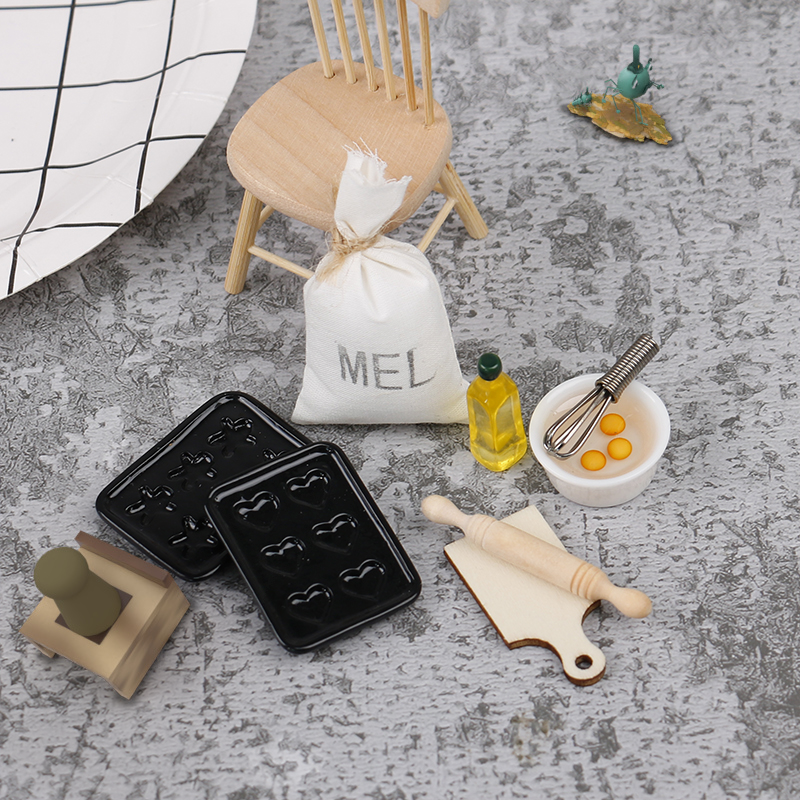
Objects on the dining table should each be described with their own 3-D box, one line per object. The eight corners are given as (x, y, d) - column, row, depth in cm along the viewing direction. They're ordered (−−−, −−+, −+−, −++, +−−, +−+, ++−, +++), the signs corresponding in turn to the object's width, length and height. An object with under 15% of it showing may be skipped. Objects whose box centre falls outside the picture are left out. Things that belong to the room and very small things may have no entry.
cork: (106, 572, 103) (69, 526, 94) (131, 613, 100) (96, 570, 91) (55, 604, 101) (13, 560, 92) (79, 647, 98) (38, 606, 89)
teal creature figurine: (591, 83, 155) (610, 5, 142) (684, 136, 149) (712, 59, 136) (556, 113, 151) (572, 35, 138) (650, 169, 145) (676, 92, 133)
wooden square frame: (129, 699, 102) (101, 672, 95) (43, 654, 106) (10, 624, 98) (190, 604, 108) (169, 571, 100) (107, 564, 111) (80, 529, 104)
